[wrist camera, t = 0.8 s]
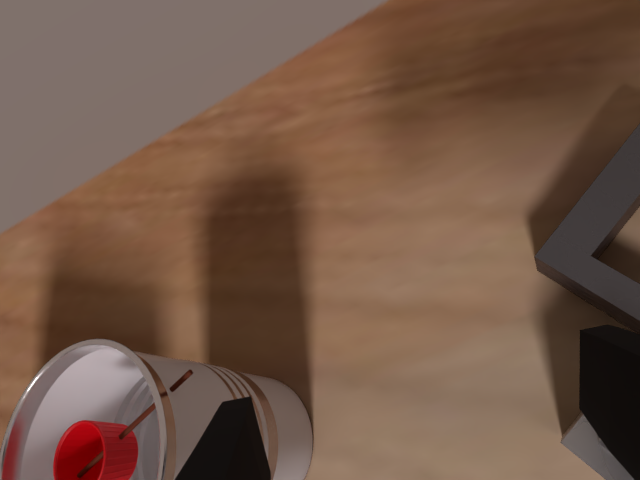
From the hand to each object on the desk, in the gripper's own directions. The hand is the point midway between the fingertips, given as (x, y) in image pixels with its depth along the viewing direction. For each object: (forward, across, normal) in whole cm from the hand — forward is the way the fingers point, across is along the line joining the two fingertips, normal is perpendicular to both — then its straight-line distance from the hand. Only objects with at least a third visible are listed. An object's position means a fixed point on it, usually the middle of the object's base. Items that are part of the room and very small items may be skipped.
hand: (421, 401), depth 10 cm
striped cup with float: (+14, +6, +12) cm, 19 cm away
